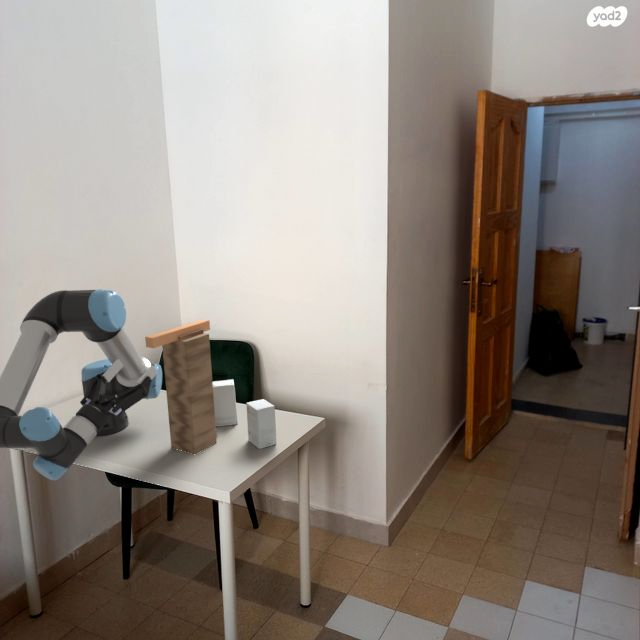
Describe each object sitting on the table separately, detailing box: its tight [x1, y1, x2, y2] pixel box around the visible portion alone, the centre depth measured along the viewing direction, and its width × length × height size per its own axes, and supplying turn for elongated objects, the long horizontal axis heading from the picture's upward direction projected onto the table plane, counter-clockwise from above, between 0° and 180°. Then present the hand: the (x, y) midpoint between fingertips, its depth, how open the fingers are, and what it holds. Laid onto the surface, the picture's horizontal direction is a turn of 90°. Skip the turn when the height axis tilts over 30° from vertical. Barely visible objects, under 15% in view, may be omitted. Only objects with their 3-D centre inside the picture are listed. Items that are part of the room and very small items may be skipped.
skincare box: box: [212, 378, 239, 427], centre depth 206 cm, size 8×6×15 cm
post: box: [161, 329, 218, 455], centre depth 186 cm, size 10×10×37 cm
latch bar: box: [144, 319, 211, 349], centre depth 179 cm, size 3×24×3 cm, turn 149°
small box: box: [246, 398, 277, 450], centre depth 189 cm, size 8×6×13 cm
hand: (137, 365), depth 166 cm, fingers open, 13 cm apart
